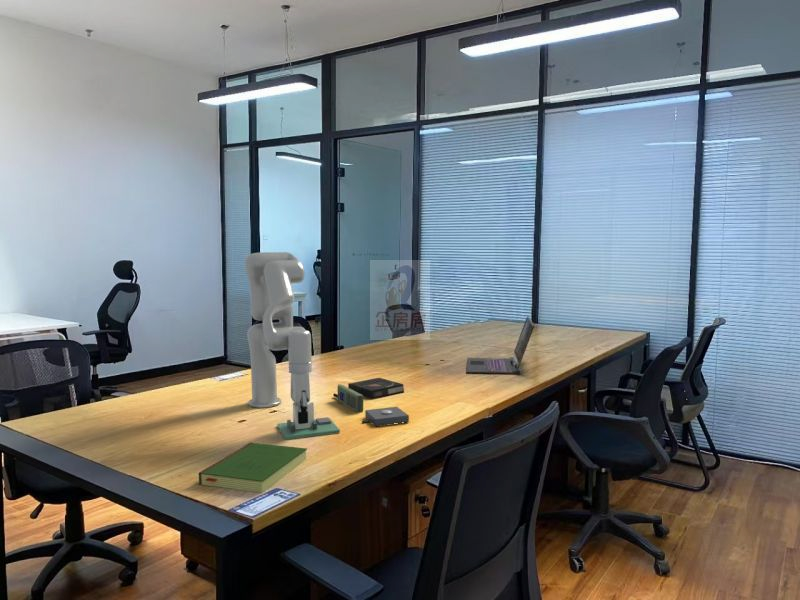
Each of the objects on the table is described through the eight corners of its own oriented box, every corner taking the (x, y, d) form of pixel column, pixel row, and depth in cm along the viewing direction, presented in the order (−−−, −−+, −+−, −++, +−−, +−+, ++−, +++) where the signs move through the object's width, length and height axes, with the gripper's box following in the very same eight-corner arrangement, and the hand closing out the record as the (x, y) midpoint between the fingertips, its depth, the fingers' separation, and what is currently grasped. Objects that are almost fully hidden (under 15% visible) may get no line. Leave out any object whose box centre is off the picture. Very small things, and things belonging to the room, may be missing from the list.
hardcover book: (250, 454, 174) (250, 442, 174) (307, 461, 168) (307, 448, 168) (197, 487, 151) (196, 473, 150) (261, 496, 145) (260, 482, 144)
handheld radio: (356, 413, 215) (330, 398, 237) (364, 412, 216) (338, 397, 238) (356, 395, 214) (330, 382, 236) (364, 394, 216) (338, 381, 238)
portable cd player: (372, 400, 233) (372, 390, 233) (348, 392, 246) (348, 383, 246) (404, 393, 244) (404, 384, 243) (379, 386, 257) (379, 377, 256)
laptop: (467, 360, 312) (467, 316, 310) (527, 361, 308) (528, 316, 306) (466, 375, 278) (466, 325, 276) (534, 376, 274) (534, 325, 272)
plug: (293, 426, 196) (292, 402, 195) (312, 423, 198) (311, 400, 197) (295, 429, 192) (294, 405, 191) (315, 427, 194) (314, 403, 194)
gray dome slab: (356, 418, 208) (356, 410, 208) (396, 413, 213) (396, 405, 213) (366, 427, 197) (366, 419, 196) (408, 422, 202) (408, 414, 202)
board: (277, 426, 200) (277, 417, 199) (328, 420, 206) (328, 412, 206) (284, 439, 186) (284, 430, 185) (339, 432, 192) (339, 423, 192)
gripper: (284, 363, 200) (286, 416, 201) (293, 373, 184) (295, 430, 186) (306, 361, 202) (307, 413, 204) (317, 371, 187) (318, 427, 188)
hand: (301, 420), depth 195 cm, fingers closed on plug, 4 cm apart
